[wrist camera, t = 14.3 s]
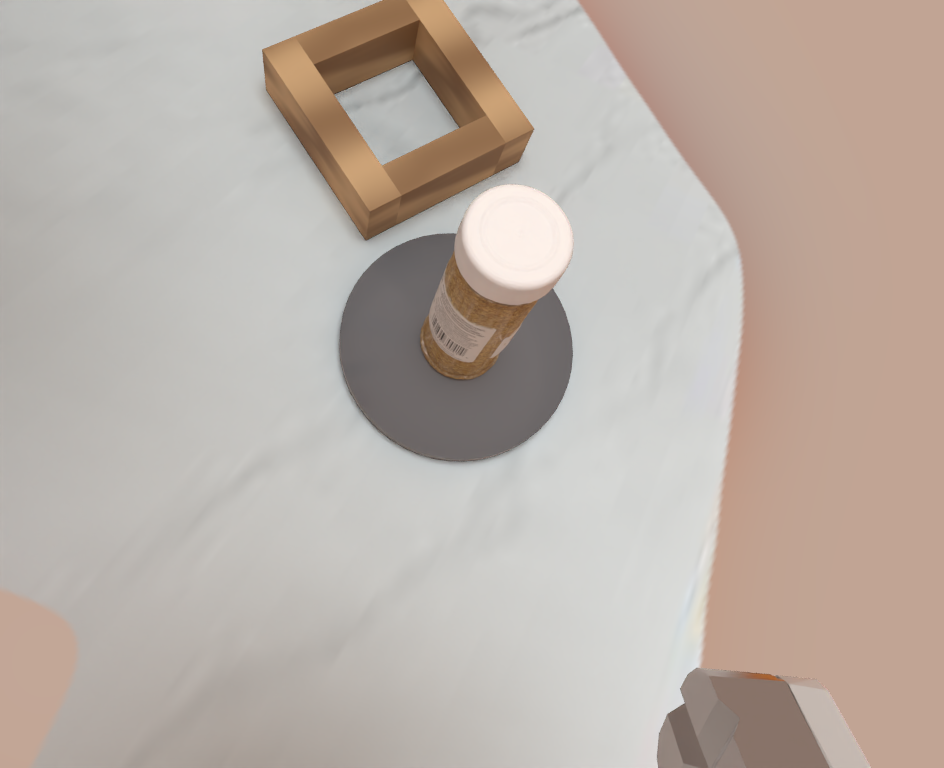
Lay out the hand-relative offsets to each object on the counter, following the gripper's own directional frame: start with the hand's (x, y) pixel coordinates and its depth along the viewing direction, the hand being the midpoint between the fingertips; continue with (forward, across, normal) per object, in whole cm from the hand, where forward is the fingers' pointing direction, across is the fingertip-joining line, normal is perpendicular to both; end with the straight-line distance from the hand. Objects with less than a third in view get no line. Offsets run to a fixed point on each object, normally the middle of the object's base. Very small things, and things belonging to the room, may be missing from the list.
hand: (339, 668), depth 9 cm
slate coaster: (+33, -5, +12) cm, 35 cm away
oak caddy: (+42, 0, +2) cm, 42 cm away
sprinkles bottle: (+32, -5, +11) cm, 34 cm away
